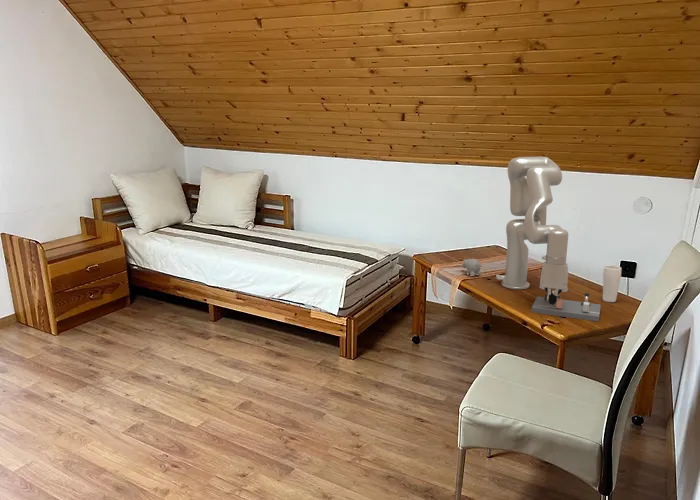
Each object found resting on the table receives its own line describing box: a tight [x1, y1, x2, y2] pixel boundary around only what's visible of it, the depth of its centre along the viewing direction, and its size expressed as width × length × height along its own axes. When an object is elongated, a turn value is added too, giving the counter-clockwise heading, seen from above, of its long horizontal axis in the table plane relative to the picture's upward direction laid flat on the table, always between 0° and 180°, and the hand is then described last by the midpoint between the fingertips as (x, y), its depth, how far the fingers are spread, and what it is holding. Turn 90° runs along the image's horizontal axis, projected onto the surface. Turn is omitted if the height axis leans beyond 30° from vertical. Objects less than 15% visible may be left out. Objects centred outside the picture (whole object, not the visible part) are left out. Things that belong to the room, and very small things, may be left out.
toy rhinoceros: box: [461, 257, 482, 276], centre depth 271 cm, size 7×12×8 cm, turn 22°
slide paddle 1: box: [556, 298, 564, 308], centre depth 218 cm, size 2×3×3 cm, turn 154°
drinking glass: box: [602, 264, 622, 303], centre depth 230 cm, size 7×7×15 cm
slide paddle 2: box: [583, 301, 589, 312], centre depth 213 cm, size 2×3×3 cm, turn 154°
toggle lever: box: [584, 292, 590, 302], centre depth 221 cm, size 2×2×5 cm
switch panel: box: [531, 292, 602, 322], centre depth 220 cm, size 25×15×5 cm, turn 64°
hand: (552, 303), depth 219 cm, fingers closed
